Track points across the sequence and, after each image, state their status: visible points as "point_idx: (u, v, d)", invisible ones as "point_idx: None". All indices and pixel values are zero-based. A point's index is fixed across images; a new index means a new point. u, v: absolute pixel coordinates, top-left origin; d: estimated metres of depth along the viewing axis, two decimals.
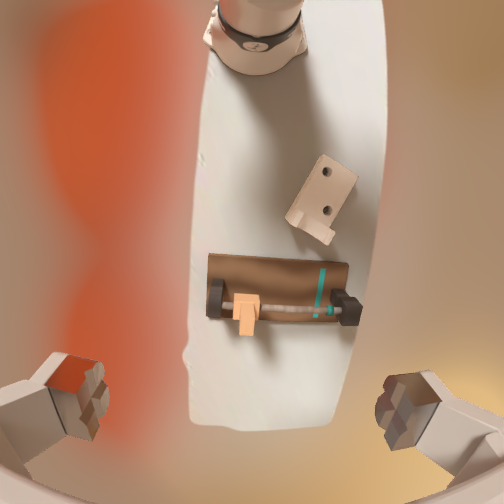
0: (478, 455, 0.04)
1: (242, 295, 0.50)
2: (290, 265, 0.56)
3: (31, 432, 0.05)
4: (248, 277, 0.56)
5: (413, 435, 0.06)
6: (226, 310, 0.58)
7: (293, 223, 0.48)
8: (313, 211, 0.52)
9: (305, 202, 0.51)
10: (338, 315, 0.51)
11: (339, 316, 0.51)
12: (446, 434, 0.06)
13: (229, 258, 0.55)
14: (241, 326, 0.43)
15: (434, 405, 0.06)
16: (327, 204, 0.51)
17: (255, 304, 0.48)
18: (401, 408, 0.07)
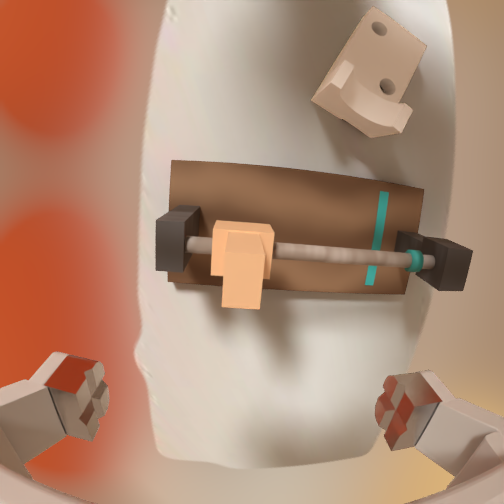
0: (478, 455, 0.04)
1: (235, 222, 0.23)
2: (327, 182, 0.28)
3: (31, 432, 0.05)
4: (247, 202, 0.29)
5: (413, 435, 0.06)
6: (205, 270, 0.30)
7: (335, 81, 0.21)
8: (364, 83, 0.24)
9: None
10: (426, 271, 0.24)
11: (428, 274, 0.23)
12: (446, 434, 0.06)
13: (211, 164, 0.28)
14: (227, 281, 0.16)
15: (434, 405, 0.06)
16: (386, 76, 0.24)
17: (262, 238, 0.20)
18: (401, 407, 0.07)
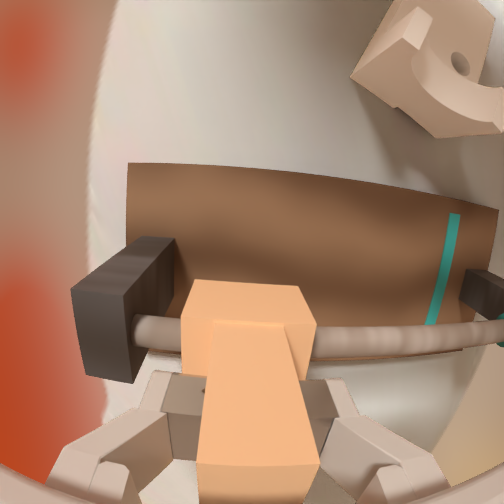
0: (369, 489, 0.04)
1: (230, 287, 0.11)
2: (379, 198, 0.17)
3: (144, 465, 0.05)
4: (253, 232, 0.17)
5: None
6: None
7: (408, 36, 0.10)
8: None
9: None
10: None
11: None
12: (345, 455, 0.06)
13: (191, 169, 0.16)
14: None
15: (328, 420, 0.06)
16: (457, 49, 0.13)
17: (291, 334, 0.09)
18: None
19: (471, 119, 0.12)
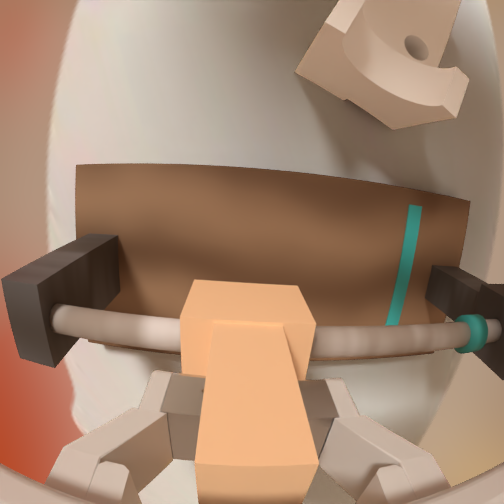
0: (369, 489, 0.04)
1: (230, 287, 0.11)
2: (323, 190, 0.17)
3: (144, 465, 0.05)
4: (190, 228, 0.17)
5: None
6: None
7: (333, 19, 0.09)
8: None
9: None
10: None
11: (486, 348, 0.12)
12: (345, 455, 0.06)
13: (131, 168, 0.16)
14: None
15: (328, 420, 0.06)
16: (412, 32, 0.13)
17: (290, 334, 0.09)
18: None
19: (420, 105, 0.12)
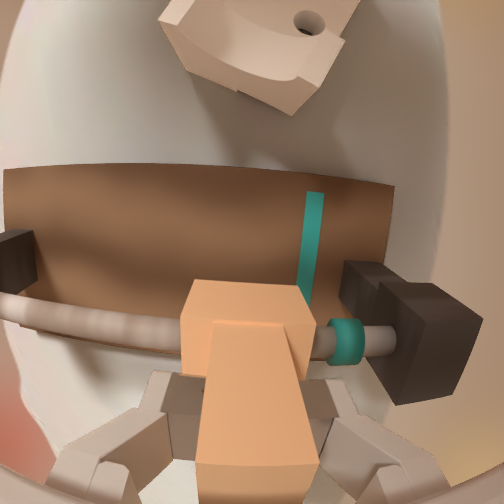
0: (369, 489, 0.04)
1: (230, 287, 0.11)
2: (203, 180, 0.17)
3: (144, 465, 0.05)
4: (84, 223, 0.17)
5: None
6: None
7: (166, 15, 0.09)
8: (262, 22, 0.13)
9: (233, 2, 0.12)
10: (378, 355, 0.12)
11: (382, 362, 0.11)
12: (345, 455, 0.06)
13: (40, 170, 0.16)
14: (210, 503, 0.04)
15: (328, 420, 0.06)
16: (305, 7, 0.13)
17: (290, 334, 0.09)
18: None
19: None
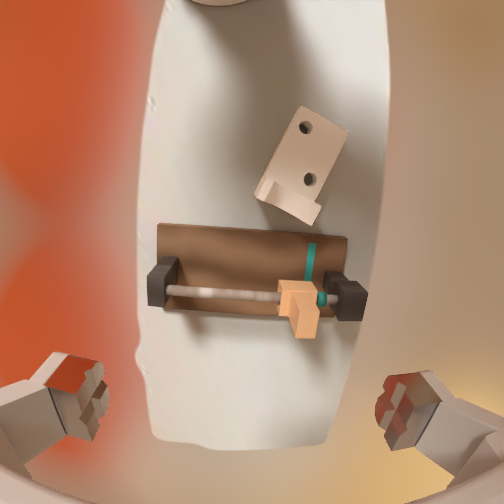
0: (478, 455, 0.04)
1: (291, 282, 0.36)
2: (266, 238, 0.41)
3: (31, 432, 0.05)
4: (210, 254, 0.41)
5: (413, 435, 0.06)
6: (183, 299, 0.43)
7: (259, 196, 0.34)
8: (290, 181, 0.38)
9: (278, 169, 0.37)
10: (334, 306, 0.36)
11: (335, 308, 0.36)
12: (446, 434, 0.06)
13: (184, 228, 0.40)
14: (299, 325, 0.29)
15: (434, 405, 0.06)
16: (309, 170, 0.37)
17: (311, 294, 0.34)
18: (401, 407, 0.07)
19: (300, 218, 0.36)
